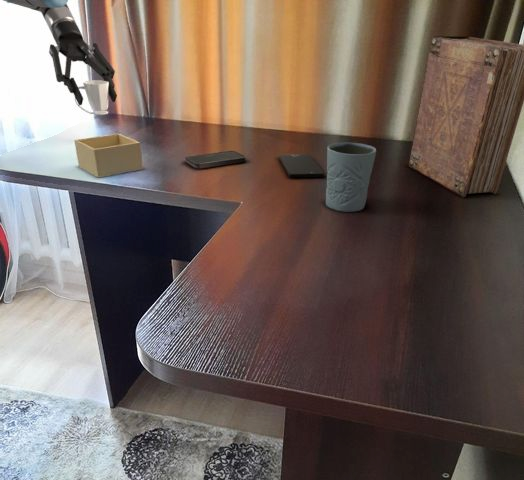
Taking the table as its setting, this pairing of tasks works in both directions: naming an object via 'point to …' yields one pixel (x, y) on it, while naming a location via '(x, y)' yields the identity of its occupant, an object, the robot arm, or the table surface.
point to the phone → (215, 159)
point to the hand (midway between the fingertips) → (98, 100)
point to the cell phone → (300, 165)
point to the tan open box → (108, 155)
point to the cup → (96, 96)
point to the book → (468, 112)
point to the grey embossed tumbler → (348, 175)
